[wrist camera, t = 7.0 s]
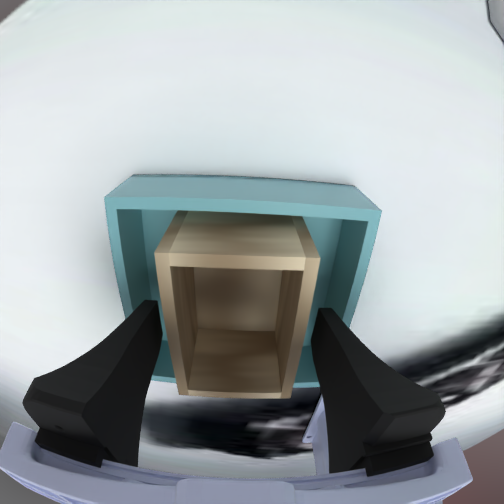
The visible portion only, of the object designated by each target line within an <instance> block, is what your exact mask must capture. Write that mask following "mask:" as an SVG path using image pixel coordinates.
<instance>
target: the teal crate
mask: <svg viewBox="0 0 504 504" xmlns="http://www.w3.org/2000/svg"><path fill="white" fill-rule="evenodd" d="M104 200H105V209H106V217H107V224H108V231H109V238H110V244H111V251H112V256H113V262H114V268H115V273H116V278H117V283H118V288H119V292H120V297H121V302H122V306H123V310H124V314H125V319H126V318H127V317H128V316H129V315H130V314H131V313H132V312H133V311H134V310H135V309H136V308H137V307H138V306H139V305H140V304H141V303H142V302H143V301H144V300H157V301H158V306H159V313H160V319H161V325H162V331H163V336H162V342H161V347H160V352H159V356H158V359H157V362H156V365H155V368H154V372H153V375H152V378H151V380H154V381H162V382H171V383H176V379H175V374H174V369H173V365H172V360H171V355H170V350H169V345H168V339H167V334H166V328H165V323H164V317H163V311H162V305H161V298H160V292H159V285H158V277H157V270H156V262H155V254H154V252H155V250H156V248H157V247H158V245H159V243H160V241H161V239H162V237H163V236H164V234H165V232H166V230H167V228H168V227H169V225H170V223H171V221H172V220H173V218H174V216H175V214H176V213H177V211H178V210H187V211H215V212H238V213H258V214H276V215H292V216H302V217H303V219H304V221H305V223H306V226H307V228H308V230H309V233H310V235H311V237H312V239H313V242H314V244H315V246H316V249H317V251H318V253H319V256H320V263H319V269H318V274H317V280H316V285H315V290H314V295H313V300H312V305H311V310H310V315H309V320H308V325H307V329H306V334H305V338H304V343H303V347H302V352H301V356H300V360H299V365H298V369H297V373H296V377H295V381H294V385H293V388H302V387H320V385H319V381H318V378H317V374H316V370H315V366H314V362H313V356H312V348H311V336H312V332H313V329H314V325H315V321H316V317H317V312H318V308H332V309H333V310H334V311H335V312H336V314H337V315H338V316H339V317H340V318H341V319H342V321H343V322H344V323H345V324H346V325H347V327H348V328H349V327H350V324H351V321H352V318H353V315H354V312H355V308H356V305H357V302H358V299H359V296H360V292H361V289H362V286H363V282H364V279H365V275H366V272H367V268H368V265H369V261H370V257H371V253H372V250H373V246H374V242H375V238H376V234H377V230H378V225H379V221H380V217H381V212H382V211H381V210H380V209H379V208H378V207H377V206H376V205H375V204H374V203H373V202H372V201H371V200H370V199H369V198H367V197H366V196H365V195H364V194H363V193H362V192H361V191H360V190H359V189H357V188H356V187H355V186H352V185H343V184H334V183H324V182H313V181H302V180H289V179H276V178H260V177H242V176H218V175H132V176H131V177H130V178H128V179H127V180H126V181H124V182H123V183H122V184H120V185H119V186H118V187H117V188H115V189H114V190H113V191H111V192H110V193H109V194H108V195H106V196H105V197H104Z"/></svg>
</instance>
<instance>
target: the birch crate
mask: <svg viewBox="0 0 504 504" xmlns="http://www.w3.org/2000/svg"><path fill="white" fill-rule="evenodd" d="M154 254H155V262H156V270H157V277H158V285H159V292H160V298H161V305H162V311H163V317H164V323H165V328H166V334H167V339H168V345H169V350H170V355H171V360H172V365H173V369H174V374H175V379H176V383H177V388H178V392H179V395H190V396H203V397H221V398H290V397H291V393H292V389H293V385H294V381H295V377H296V373H297V369H298V365H299V360H300V356H301V352H302V347H303V343H304V338H305V334H306V329H307V325H308V320H309V315H310V310H311V305H312V300H313V295H314V290H315V285H316V280H317V274H318V269H319V263H320V256H319V253H318V251H317V249H316V246H315V244H314V242H313V239H312V237H311V235H310V233H309V230H308V228H307V226H306V223H305V221H304V219H303V217H302V216H292V215H276V214H258V213H238V212H215V211H187V210H178V211H177V213H176V214H175V216H174V218H173V220H172V221H171V223H170V225H169V227H168V228H167V230H166V232H165V234H164V236H163V237H162V239H161V241H160V243H159V245H158V247H157V248H156V250H155V252H154Z"/></svg>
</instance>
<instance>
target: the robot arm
mask: <svg viewBox="0 0 504 504" xmlns="http://www.w3.org/2000/svg"><path fill="white" fill-rule="evenodd" d="M162 336H163V331H162V325H161V319H160V313H159V306H158V301H157V300H144V301H143V302H142V303H141V304H140V305H139V306H138V307H137V308H136V309H135V310H134V311H133V312H132V313H131V314H130V315H129V316H128V317H127V318H126V319H125V320H124V321H123V322H122V323H121V324H120V325H119V326H118V327H117V328H116V329H115V330H114V331H113V332H112V333H111V334H110V335H108V336H107V337H106V338H105V339H104V340H103V341H102V342H100V343H99V344H98V345H96V346H95V347H94V348H92V349H91V350H90V351H88V352H87V353H85V354H84V355H82V356H80V357H79V358H77V359H76V360H74V361H72V362H70V363H69V364H67V365H65V366H63V367H61V368H59V369H57V370H54V371H52V372H50V373H47V374H45V375H42V376H39V377H37V378H34V380H33V382H32V383H31V385H30V387H29V389H28V391H27V393H26V395H25V397H24V399H23V406H24V408H25V410H26V411H27V413H28V414H29V415H30V416H31V418H32V419H33V420H34V421H35V422H36V424H37V425H38V426H39V427H40V428H39V431H38V433H37V432H36V431H34V430H33V429H31V428H28V427H26V426H24V425H21V424H19V423H17V422H12V424H11V427H10V429H9V431H8V433H7V436H6V438H5V440H4V443H3V445H2V448H1V450H0V469H2V470H3V471H4V472H5V473H7V474H8V475H9V476H11V477H12V478H14V479H15V480H16V481H18V482H19V483H21V484H22V485H23V486H25V487H27V488H29V489H31V490H33V491H35V492H37V493H39V494H41V495H43V496H45V497H48V498H50V499H52V500H54V501H57V502H59V503H61V504H443V502H442V500H443V499H445V498H446V497H448V496H449V495H451V494H453V493H455V492H456V491H458V490H459V489H461V488H462V487H464V486H465V485H467V484H468V483H469V482H471V481H472V480H473V478H472V476H471V473H470V470H469V467H468V465H467V462H466V459H465V457H464V454H463V452H462V449H461V446H460V444H459V442H458V439H457V438H456V437H455V438H452V439H449V440H446V441H443V442H440V443H438V444H436V445H434V446H432V447H431V444H430V442H429V441H431V440H432V436H431V433H430V432H431V431H432V430H433V429H434V428H435V427H436V426H437V425H438V424H439V422H440V421H441V420H442V419H443V417H444V415H445V412H446V411H445V408H444V405H443V403H442V401H441V399H440V397H439V395H438V393H435V392H433V391H431V390H429V389H426V388H424V387H422V386H420V385H418V384H416V383H414V382H413V381H411V380H409V379H407V378H406V377H404V376H402V375H401V374H399V373H398V372H396V371H395V370H394V369H392V368H391V367H389V366H388V365H387V364H385V363H384V362H383V361H382V360H381V359H379V358H378V357H377V356H376V355H375V354H373V353H372V352H371V351H370V350H369V349H368V348H367V347H366V346H365V345H364V344H363V343H362V342H361V341H360V340H359V339H358V338H357V337H356V336H355V334H354V333H353V332H352V331H351V330H350V329H349V328H348V327H347V325H346V324H345V323H344V322H343V321H342V319H341V318H340V317H339V316H338V315H337V314H336V312H335V311H334V310H333V309H332V308H318V312H317V317H316V321H315V325H314V329H313V332H312V336H311V348H312V356H313V362H314V366H315V370H316V374H317V378H318V381H319V385H320V389H321V393H322V394H321V397H320V399H319V402H318V404H317V407H316V409H315V411H314V414H313V416H312V418H311V420H310V423H309V425H308V427H307V429H306V432H305V434H304V436H303V438H302V441H303V442H304V443H312V446H313V453H314V459H315V466H316V473H317V475H314V476H303V477H289V478H261V479H246V478H218V477H204V476H193V475H184V474H176V473H169V472H162V471H156V470H150V469H144V468H139V467H138V451H139V440H140V431H141V423H142V416H143V410H144V404H145V399H146V395H147V391H148V387H149V384H150V381H151V378H152V375H153V372H154V368H155V365H156V362H157V359H158V356H159V352H160V347H161V342H162Z"/></svg>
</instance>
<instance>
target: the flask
mask: <svg viewBox="0 0 504 504" xmlns="http://www.w3.org/2000/svg"><path fill="white" fill-rule="evenodd" d="M488 3H489V10H490V19H491V23H492V24H493V25H494V27H495V28H496V30H497V31H498V33H499V34H500V36H501V37H502V39H503V40H504V0H488Z"/></svg>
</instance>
